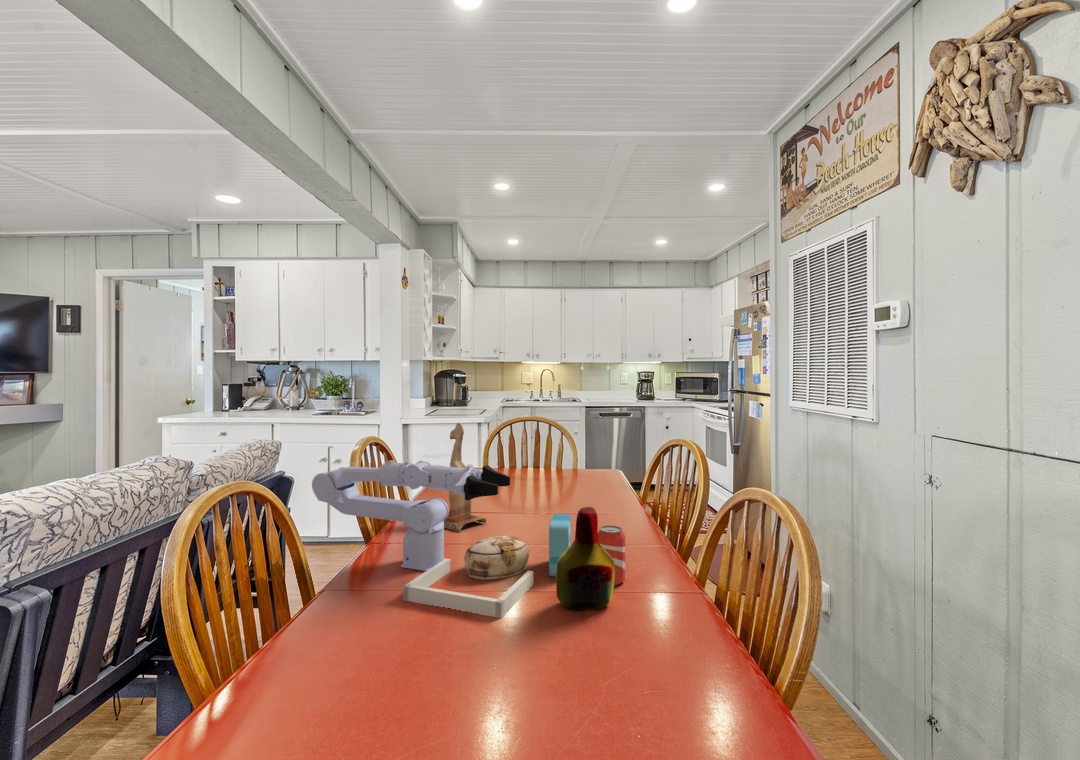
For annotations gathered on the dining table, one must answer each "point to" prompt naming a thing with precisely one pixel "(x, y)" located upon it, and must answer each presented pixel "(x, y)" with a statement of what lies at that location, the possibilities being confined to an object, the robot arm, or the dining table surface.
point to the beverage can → (614, 548)
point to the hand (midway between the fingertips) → (504, 485)
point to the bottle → (585, 567)
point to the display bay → (460, 601)
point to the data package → (558, 539)
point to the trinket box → (496, 557)
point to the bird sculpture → (458, 504)
